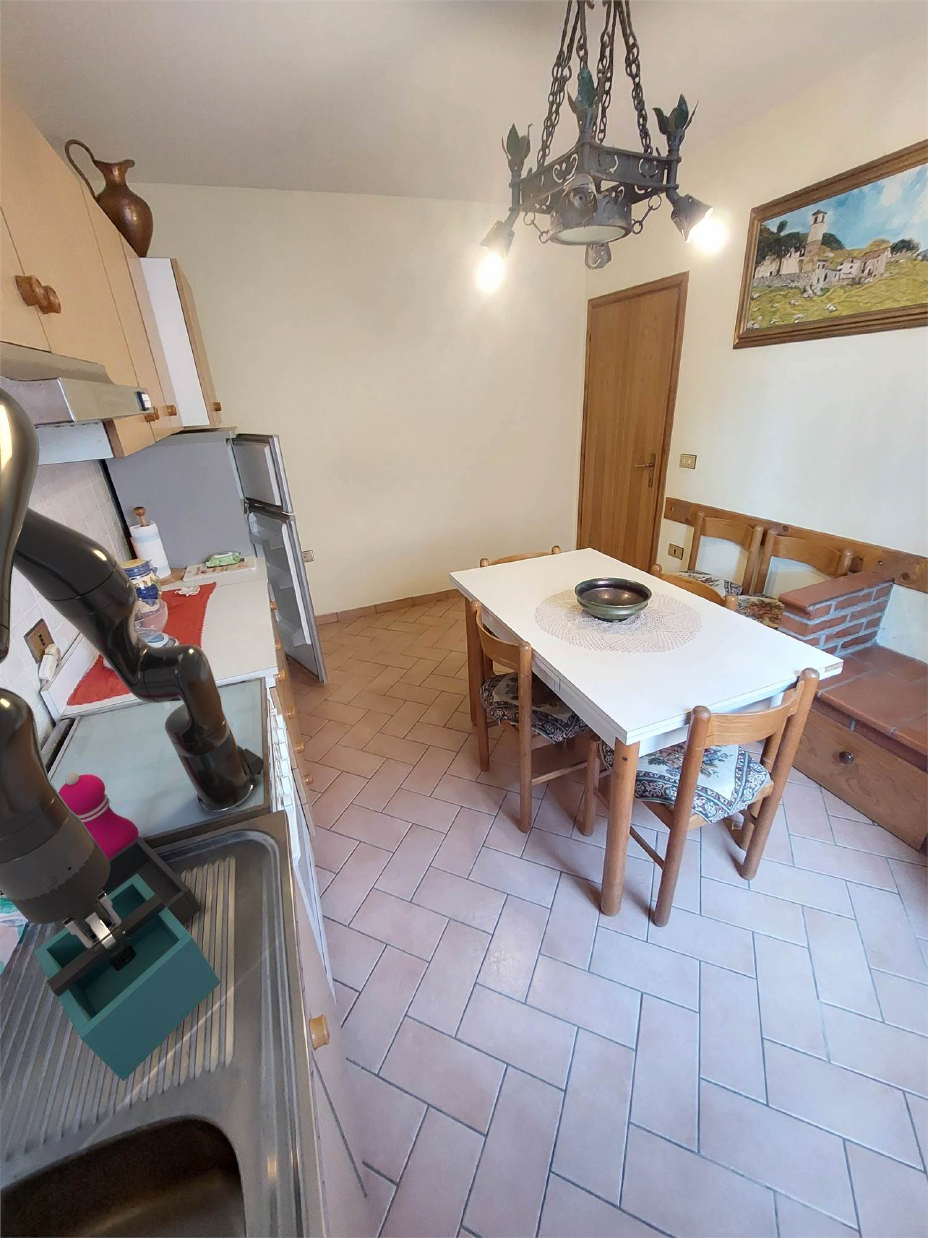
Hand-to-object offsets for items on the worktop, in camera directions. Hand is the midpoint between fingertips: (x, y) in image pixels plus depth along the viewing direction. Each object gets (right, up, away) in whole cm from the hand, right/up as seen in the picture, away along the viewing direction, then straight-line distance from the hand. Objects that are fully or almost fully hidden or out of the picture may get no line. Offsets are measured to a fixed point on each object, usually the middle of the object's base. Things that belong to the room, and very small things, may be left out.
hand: (121, 955), depth 57 cm
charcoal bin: (-11, -7, +18) cm, 22 cm away
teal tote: (+1, -7, +4) cm, 8 cm away
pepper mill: (-19, -2, +28) cm, 34 cm away
